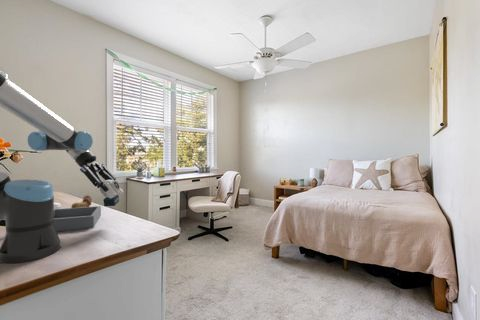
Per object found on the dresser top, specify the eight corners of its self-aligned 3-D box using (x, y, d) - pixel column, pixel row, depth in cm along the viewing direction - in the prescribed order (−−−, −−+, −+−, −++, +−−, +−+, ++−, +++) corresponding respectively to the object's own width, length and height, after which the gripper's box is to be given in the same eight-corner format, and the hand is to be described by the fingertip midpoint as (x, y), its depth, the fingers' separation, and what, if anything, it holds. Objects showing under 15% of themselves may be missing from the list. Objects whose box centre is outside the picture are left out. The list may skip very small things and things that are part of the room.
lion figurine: (84, 210, 131) (84, 194, 131) (94, 210, 131) (94, 194, 131) (65, 218, 116) (65, 200, 116) (76, 218, 116) (76, 200, 116)
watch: (119, 205, 105) (116, 182, 102) (99, 206, 104) (96, 182, 101) (123, 200, 110) (121, 178, 107) (105, 201, 109) (102, 178, 106)
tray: (93, 227, 103) (93, 216, 103) (36, 233, 95) (35, 220, 95) (100, 215, 121) (100, 206, 121) (53, 219, 114) (52, 209, 114)
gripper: (91, 160, 115) (123, 196, 115) (60, 162, 97) (97, 205, 97) (102, 150, 114) (133, 186, 114) (72, 150, 96) (110, 193, 96)
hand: (117, 194), depth 105 cm, fingers closed on watch, 5 cm apart
